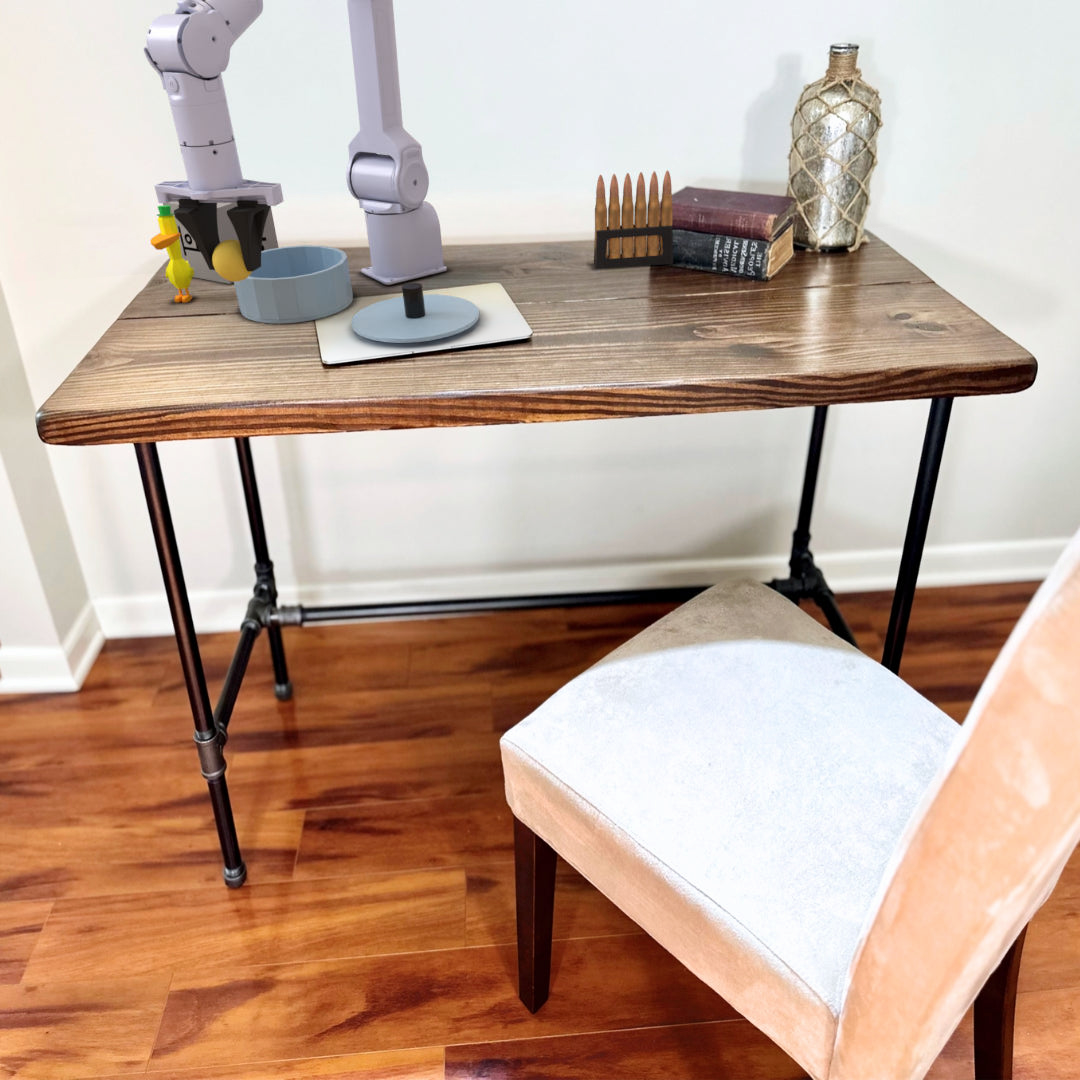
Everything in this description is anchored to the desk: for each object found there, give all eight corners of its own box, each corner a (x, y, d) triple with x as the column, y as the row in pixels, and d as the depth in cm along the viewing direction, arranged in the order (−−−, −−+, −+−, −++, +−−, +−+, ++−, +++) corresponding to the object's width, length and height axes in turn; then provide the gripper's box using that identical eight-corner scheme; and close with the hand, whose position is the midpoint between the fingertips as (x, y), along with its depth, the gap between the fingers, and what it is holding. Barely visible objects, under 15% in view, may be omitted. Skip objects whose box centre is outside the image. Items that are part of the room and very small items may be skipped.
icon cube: (180, 274, 138) (162, 202, 132) (233, 255, 145) (218, 186, 139) (229, 283, 133) (213, 209, 127) (281, 263, 140) (268, 192, 135)
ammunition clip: (670, 259, 133) (673, 168, 127) (673, 263, 132) (676, 171, 125) (593, 264, 133) (592, 173, 126) (595, 268, 131) (594, 176, 125)
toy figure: (183, 309, 125) (159, 214, 118) (157, 309, 125) (132, 214, 119) (207, 292, 130) (185, 200, 124) (182, 292, 131) (160, 200, 124)
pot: (324, 279, 133) (317, 238, 130) (372, 305, 123) (366, 262, 120) (224, 302, 126) (214, 260, 123) (266, 332, 116) (257, 287, 113)
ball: (249, 271, 114) (241, 232, 111) (264, 280, 111) (256, 240, 108) (211, 280, 112) (202, 240, 109) (225, 289, 109) (216, 248, 106)
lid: (438, 294, 125) (435, 258, 123) (504, 325, 115) (501, 286, 112) (331, 322, 118) (325, 284, 116) (390, 358, 107) (384, 317, 105)
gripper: (126, 148, 102) (159, 276, 109) (248, 149, 98) (274, 281, 105) (164, 135, 107) (194, 257, 115) (282, 135, 104) (304, 262, 111)
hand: (235, 268), depth 110 cm, fingers closed on ball, 4 cm apart
